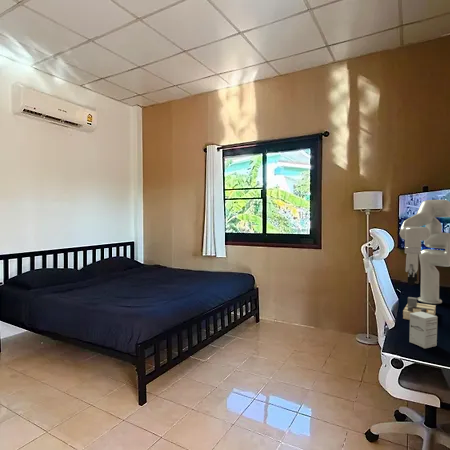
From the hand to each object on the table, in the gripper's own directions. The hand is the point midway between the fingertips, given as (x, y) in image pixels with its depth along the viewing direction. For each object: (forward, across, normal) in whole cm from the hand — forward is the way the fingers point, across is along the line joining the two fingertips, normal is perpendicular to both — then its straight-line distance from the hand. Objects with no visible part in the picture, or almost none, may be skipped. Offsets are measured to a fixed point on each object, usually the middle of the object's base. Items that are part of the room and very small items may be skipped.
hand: (412, 282), depth 176 cm
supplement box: (+18, +40, +9) cm, 45 cm away
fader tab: (+13, -1, 0) cm, 13 cm away
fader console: (+17, -1, +4) cm, 17 cm away
